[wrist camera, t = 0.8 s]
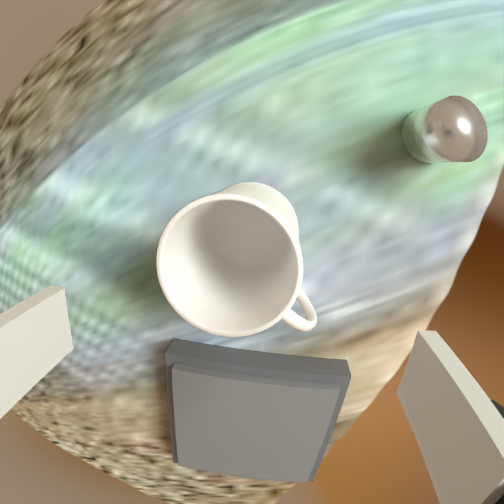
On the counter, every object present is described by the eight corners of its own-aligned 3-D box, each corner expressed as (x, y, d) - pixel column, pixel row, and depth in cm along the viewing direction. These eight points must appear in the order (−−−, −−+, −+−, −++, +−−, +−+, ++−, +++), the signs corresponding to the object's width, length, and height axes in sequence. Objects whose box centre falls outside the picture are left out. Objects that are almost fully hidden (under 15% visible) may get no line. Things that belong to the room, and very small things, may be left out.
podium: (179, 447, 36) (171, 467, 33) (174, 338, 32) (161, 358, 28) (311, 464, 35) (312, 486, 31) (346, 359, 31) (352, 382, 27)
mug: (338, 265, 28) (371, 325, 17) (266, 318, 30) (254, 398, 19) (256, 162, 27) (236, 154, 15) (184, 223, 29) (124, 257, 17)
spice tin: (399, 156, 26) (432, 153, 19) (402, 104, 24) (435, 87, 18) (445, 167, 25) (485, 168, 18) (448, 117, 24) (487, 106, 17)
